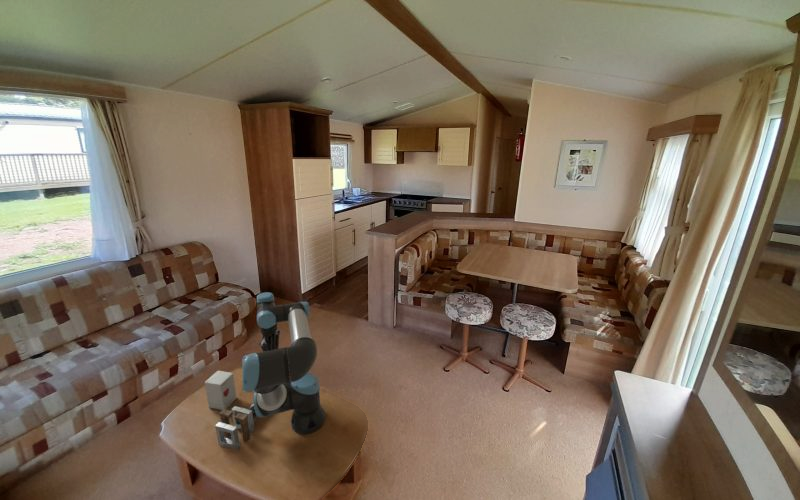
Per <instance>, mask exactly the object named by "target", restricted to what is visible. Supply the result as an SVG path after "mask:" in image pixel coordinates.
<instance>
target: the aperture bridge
mask: <svg viewBox="0 0 800 500" xmlns="http://www.w3.org/2000/svg"><path fill="white" fill-rule="evenodd" d="M232 415H233V411H232V410H229V409H227V408H226V409H223V410H220V412H219V417H220V420H221V423H225V424H228V425H231V422H230V418H231V417H233V416H232ZM247 418H248V416H247V415H245V414H241V413H238V414H237V415H236V416H235V417H234V419H235V420H237V421H240V424H241V430H240V431H241V434H242V435H241V437H242V441H243V442H245V443H248V442H249V441H250V440H251V433H250V432H249V425H248V419H247ZM223 432H224V431H223ZM229 436H231V433H228V432H224V437H226V438H228V437H229Z"/></svg>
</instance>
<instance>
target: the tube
mask: <svg viewBox="0 0 800 500" xmlns="http://www.w3.org/2000/svg"><path fill="white" fill-rule="evenodd" d="M247 409H248V410H252V414H253V415H254V414H255V409H254V401H253V402H252V403H251V405H250V406H249V407H248V408H247Z"/></svg>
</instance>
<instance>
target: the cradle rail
mask: <svg viewBox="0 0 800 500" xmlns="http://www.w3.org/2000/svg"><path fill="white" fill-rule="evenodd" d="M259 419H260V417H258V416H257V415H256V413H255V414H254V415H253V421H254V424H255V423H256V422H257V421H258V420H259Z"/></svg>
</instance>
